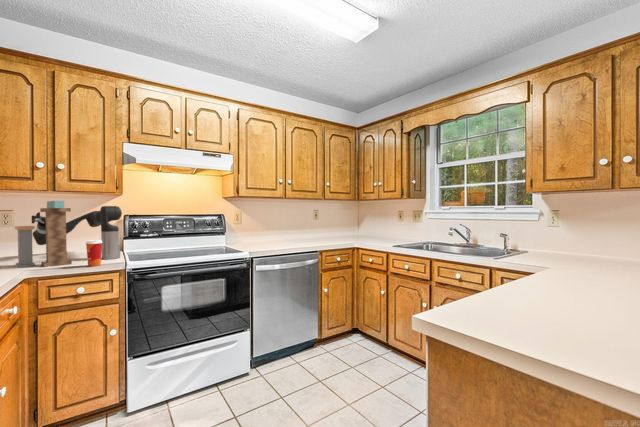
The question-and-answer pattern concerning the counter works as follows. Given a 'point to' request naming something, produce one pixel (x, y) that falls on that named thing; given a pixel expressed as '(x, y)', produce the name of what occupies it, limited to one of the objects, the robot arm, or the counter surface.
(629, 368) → the counter surface
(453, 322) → the counter surface
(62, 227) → the stand
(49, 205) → the bar
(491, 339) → the counter surface
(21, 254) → the ledge
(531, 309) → the counter surface
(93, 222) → the robot arm
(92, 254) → the paper cup
